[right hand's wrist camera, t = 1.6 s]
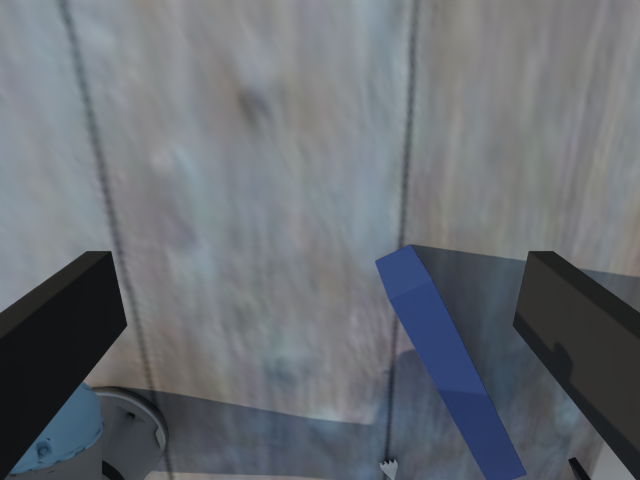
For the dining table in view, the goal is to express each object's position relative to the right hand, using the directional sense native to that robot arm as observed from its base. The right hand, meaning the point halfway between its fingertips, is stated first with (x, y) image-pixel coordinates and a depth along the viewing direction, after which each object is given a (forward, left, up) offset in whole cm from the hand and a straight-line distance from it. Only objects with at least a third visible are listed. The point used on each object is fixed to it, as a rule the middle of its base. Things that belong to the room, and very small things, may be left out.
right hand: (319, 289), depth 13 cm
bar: (-2, +30, -31) cm, 43 cm away
